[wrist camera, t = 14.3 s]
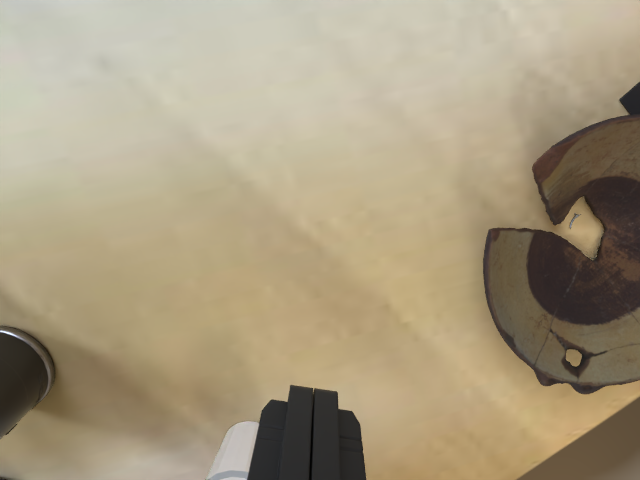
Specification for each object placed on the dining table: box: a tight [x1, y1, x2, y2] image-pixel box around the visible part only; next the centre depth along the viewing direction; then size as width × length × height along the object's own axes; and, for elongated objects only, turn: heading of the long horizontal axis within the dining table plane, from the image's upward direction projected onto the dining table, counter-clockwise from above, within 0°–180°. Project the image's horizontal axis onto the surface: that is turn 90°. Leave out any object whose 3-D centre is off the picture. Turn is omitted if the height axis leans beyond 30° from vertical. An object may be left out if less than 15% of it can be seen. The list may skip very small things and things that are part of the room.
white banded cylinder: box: [205, 421, 259, 480], centre depth 41 cm, size 7×7×7 cm
